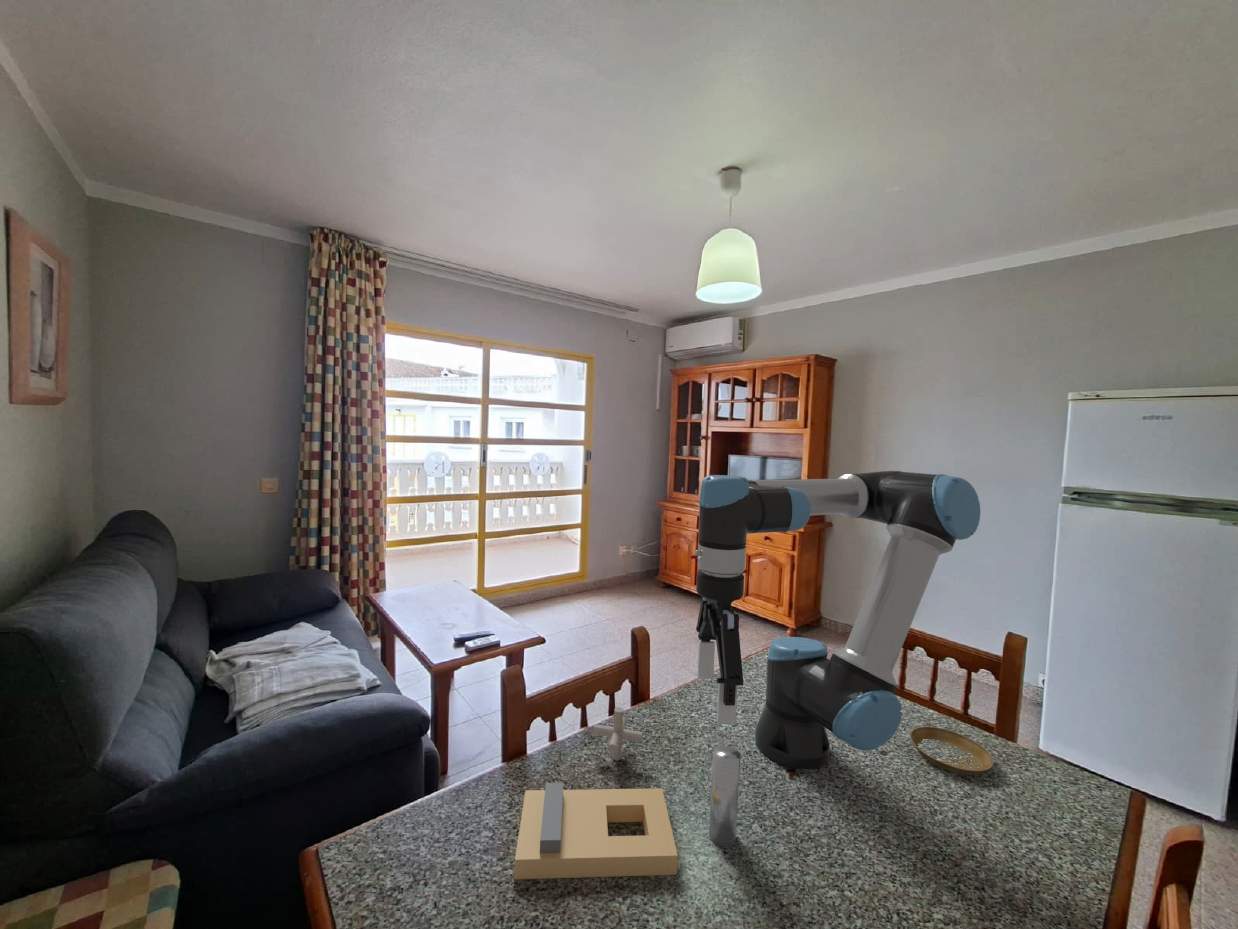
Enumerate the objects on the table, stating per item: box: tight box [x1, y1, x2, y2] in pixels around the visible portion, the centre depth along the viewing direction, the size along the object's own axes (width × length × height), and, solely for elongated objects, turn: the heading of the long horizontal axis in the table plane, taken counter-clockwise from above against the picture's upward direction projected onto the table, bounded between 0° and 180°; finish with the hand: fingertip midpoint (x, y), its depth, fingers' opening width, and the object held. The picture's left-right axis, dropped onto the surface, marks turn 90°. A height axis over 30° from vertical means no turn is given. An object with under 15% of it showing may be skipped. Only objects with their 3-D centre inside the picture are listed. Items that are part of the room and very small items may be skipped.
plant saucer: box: [909, 726, 995, 776], centre depth 104 cm, size 15×15×3 cm
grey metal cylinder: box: [708, 744, 741, 847], centre depth 81 cm, size 4×4×14 cm
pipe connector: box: [592, 706, 644, 761], centre depth 99 cm, size 10×10×10 cm
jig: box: [513, 782, 679, 880], centre depth 79 cm, size 24×14×5 cm, turn 95°
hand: (714, 698), depth 81 cm, fingers open, 13 cm apart
